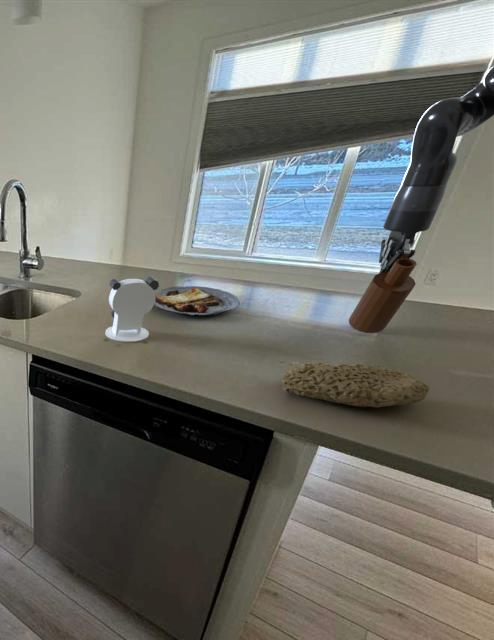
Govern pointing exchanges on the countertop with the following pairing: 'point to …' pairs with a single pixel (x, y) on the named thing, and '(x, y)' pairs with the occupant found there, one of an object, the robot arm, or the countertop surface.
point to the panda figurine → (130, 308)
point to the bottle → (383, 297)
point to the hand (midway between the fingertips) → (381, 284)
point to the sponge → (354, 384)
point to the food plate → (195, 300)
